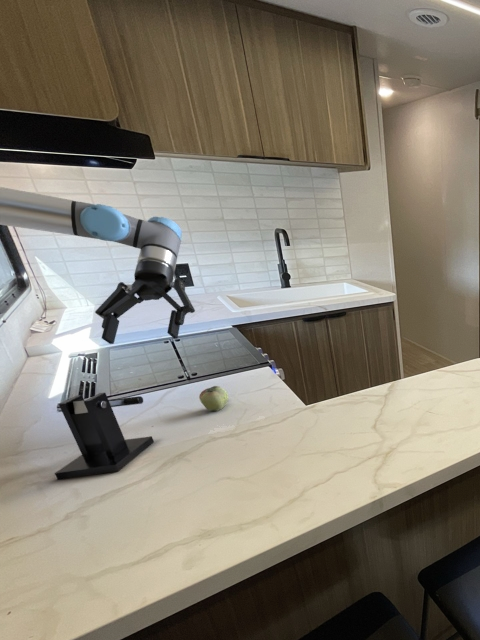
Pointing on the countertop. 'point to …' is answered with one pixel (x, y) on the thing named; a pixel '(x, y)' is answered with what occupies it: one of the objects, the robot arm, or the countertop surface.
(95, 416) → the black lever stand
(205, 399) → the apple
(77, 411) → the lever
